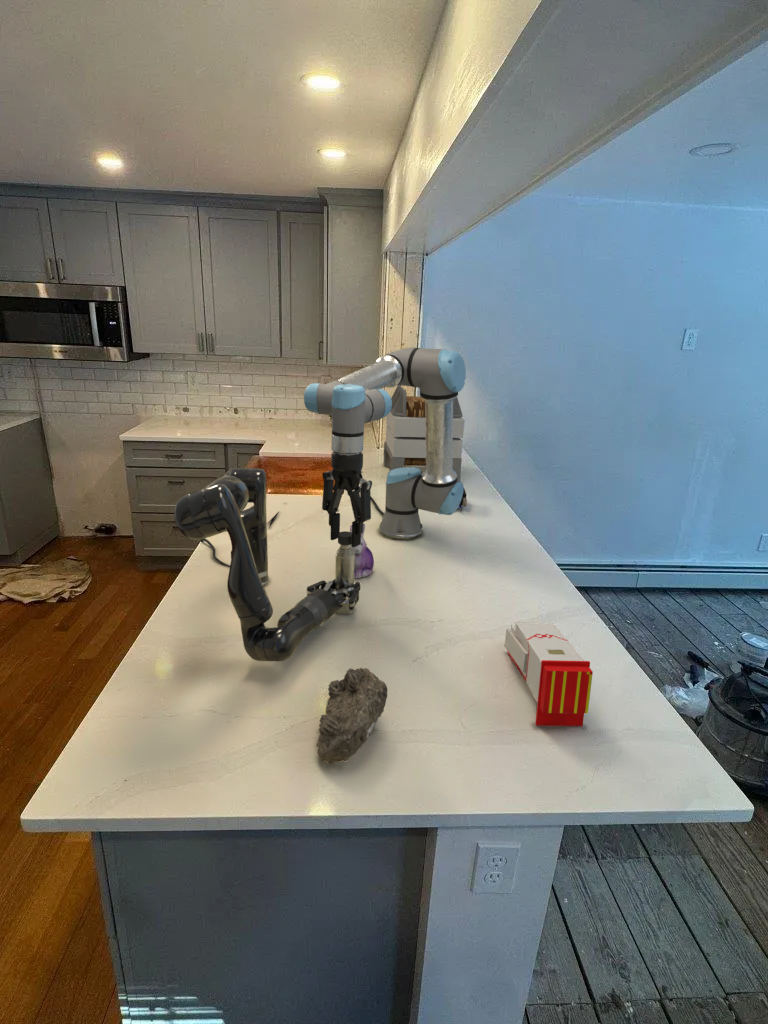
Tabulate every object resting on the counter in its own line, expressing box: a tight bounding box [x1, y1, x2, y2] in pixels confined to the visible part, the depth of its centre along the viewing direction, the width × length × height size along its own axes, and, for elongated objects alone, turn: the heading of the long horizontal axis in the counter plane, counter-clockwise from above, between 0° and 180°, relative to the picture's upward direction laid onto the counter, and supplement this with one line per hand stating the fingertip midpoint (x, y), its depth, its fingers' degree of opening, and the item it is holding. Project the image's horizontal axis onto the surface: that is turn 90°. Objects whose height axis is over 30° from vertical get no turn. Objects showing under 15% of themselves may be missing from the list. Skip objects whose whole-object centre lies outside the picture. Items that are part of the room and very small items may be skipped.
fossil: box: [316, 667, 388, 764], centre depth 106 cm, size 22×10×15 cm
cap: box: [337, 530, 352, 545], centre depth 142 cm, size 4×4×2 cm
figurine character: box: [457, 488, 468, 511], centre depth 230 cm, size 7×8×15 cm
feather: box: [267, 512, 279, 529], centre depth 212 cm, size 2×28×2 cm
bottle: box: [334, 544, 355, 615], centre depth 145 cm, size 5×5×21 cm
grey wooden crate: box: [383, 385, 465, 482], centre depth 268 cm, size 34×33×41 cm
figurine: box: [349, 523, 375, 579], centre depth 167 cm, size 9×10×15 cm
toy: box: [503, 622, 594, 727], centre depth 121 cm, size 12×13×30 cm
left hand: (349, 582), depth 148 cm, fingers closed on bottle, 5 cm apart
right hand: (345, 541), depth 142 cm, fingers open, 6 cm apart
